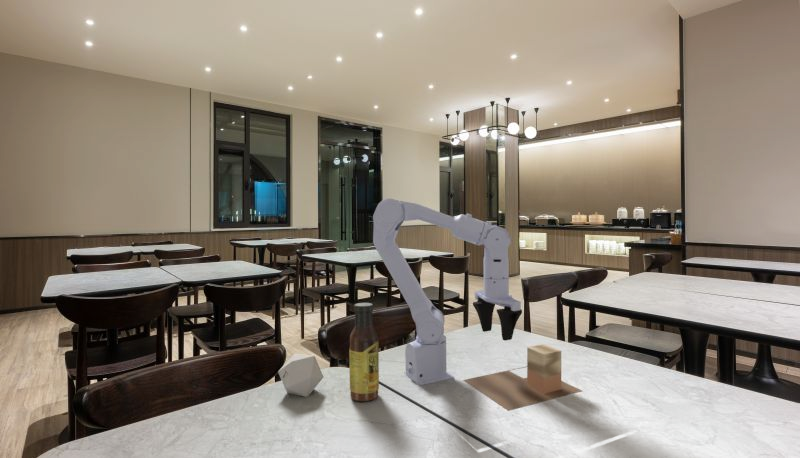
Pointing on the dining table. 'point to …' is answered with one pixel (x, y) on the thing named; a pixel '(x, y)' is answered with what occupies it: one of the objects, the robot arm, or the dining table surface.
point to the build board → (515, 389)
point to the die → (300, 374)
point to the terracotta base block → (544, 382)
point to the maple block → (544, 360)
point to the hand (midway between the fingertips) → (496, 335)
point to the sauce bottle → (364, 355)
